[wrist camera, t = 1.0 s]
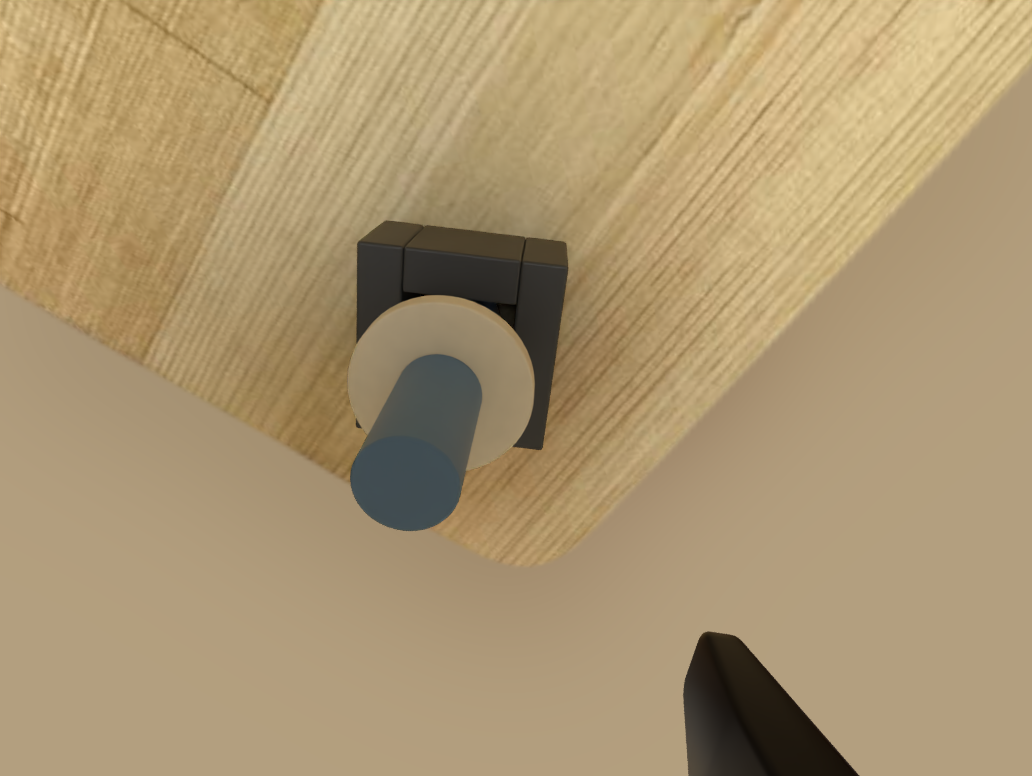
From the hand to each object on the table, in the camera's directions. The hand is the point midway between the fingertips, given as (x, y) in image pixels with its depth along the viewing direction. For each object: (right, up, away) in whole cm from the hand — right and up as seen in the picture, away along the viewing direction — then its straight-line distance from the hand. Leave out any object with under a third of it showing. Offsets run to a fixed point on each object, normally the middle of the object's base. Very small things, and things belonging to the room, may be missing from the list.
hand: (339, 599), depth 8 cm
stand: (+1, +5, +12) cm, 13 cm away
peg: (+1, +5, +12) cm, 13 cm away
